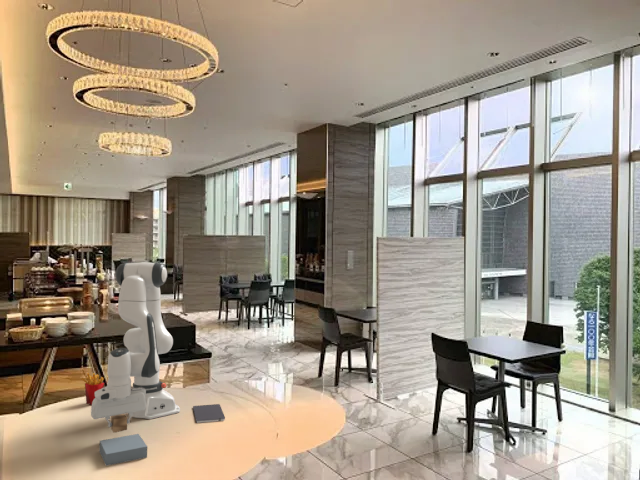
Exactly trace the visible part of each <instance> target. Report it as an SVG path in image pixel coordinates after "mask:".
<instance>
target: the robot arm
mask: <svg viewBox="0 0 640 480" xmlns="http://www.w3.org/2000/svg"><path fill="white" fill-rule="evenodd" d="M167 278H168V271H167V267H166V266H165V264H163V263H161V262H149V261H141V262H140V261H139V262H124V263H120V264H119V265H118V266H117V267H116V270H115V280H116V283H117V284H118V285H119V286H120V288H119V295H118V303H117V304H118V305H117V311H118V315H119V317H120V318H121V319H122V320H123V321H125V322H127V324H128V323H129V324H130V325H133V326H134V328H133V327H132V328H129V329H128V330H127V331H126V332H125V334H124V336H123V345H124V346H125V347H121V348H120V347H119V348H115V349H113V350H111V351H110V352H109V355H108V361H107V377H108V378H107V383H106V384H107V385H106V386H104V388H102V389H100V390H97V391H96V392H95V399H94V400H93V402H92V406H91V408H90V416H91V418H92V419H94V420H98V419H103V418H104V419H105V420H106V422H107V427H108V428H111V427H113V422H112V421H111V416H115V415H120V414H125V415H126V414H128V415H127V416H126V417H127V425H128V424H130V423H131V422H130V421H131V418H136V419H147V420H152V419H156V418H161V417H166V416H170V415H174V414H179V413H180V412H181V407H180V406H179V405H178V404H176V399H175V397H174V395H172V394H171V393H170V392H168V391H167V390H165V388H166V387H167V383H164V382H163V381H161V380H160V367H161V364H160V363H161V362H160V361H161V360H160V356H159V355H162V354H167V353H169V352H170V350H172V347H173V345H174V338H173V336H172V335H171V333H170V332H169V331H168V330H167V327H166V326H165V324H164V321H163V318H162V308H161V307H162V303H161V302H162V301H161V287H162V286H163V285H164V284H165V283H166V282H167ZM131 377H133V383H132V380H131Z"/></svg>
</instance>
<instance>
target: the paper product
mask: <svg viewBox="0 0 640 480" xmlns="http://www.w3.org/2000/svg"><path fill="white" fill-rule="evenodd" d="M192 409H193V410H192V411H193V414H194V418H195V423H196V424H200V423H213V422H224V421H225V420H226V417H225V414H224V411H223V410H222V406H221V404H220V403H215V404H204V405H203V404H202V405H193V406H192Z"/></svg>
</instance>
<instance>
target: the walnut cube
mask: <svg viewBox="0 0 640 480" xmlns="http://www.w3.org/2000/svg"><path fill="white" fill-rule="evenodd" d="M127 417H128V416H127V415H126V413H125V414H120V415H115V416H110V421H112V422H113V427H110V429H111V431H112V433H114V434H115V433H119V432H123V431H127V430H128V424H127Z"/></svg>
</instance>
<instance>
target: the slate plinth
mask: <svg viewBox="0 0 640 480" xmlns="http://www.w3.org/2000/svg"><path fill="white" fill-rule="evenodd" d="M98 450H99V451H98V452H99V455H100V456H101V458H102V460H103V463H104V465H105V466H106V467H108V466H112V465H118V464H121V463H127V462H131V461H136V460H141V459H146V458H148V445H147V443H146V442H145V441H144V440H143V438H142V436H141V435H140V433H136V434H130V435H124V436H123V435H122V436H119V437H111V438H108V439H107V438H106V439H101V440H99V449H98Z"/></svg>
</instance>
